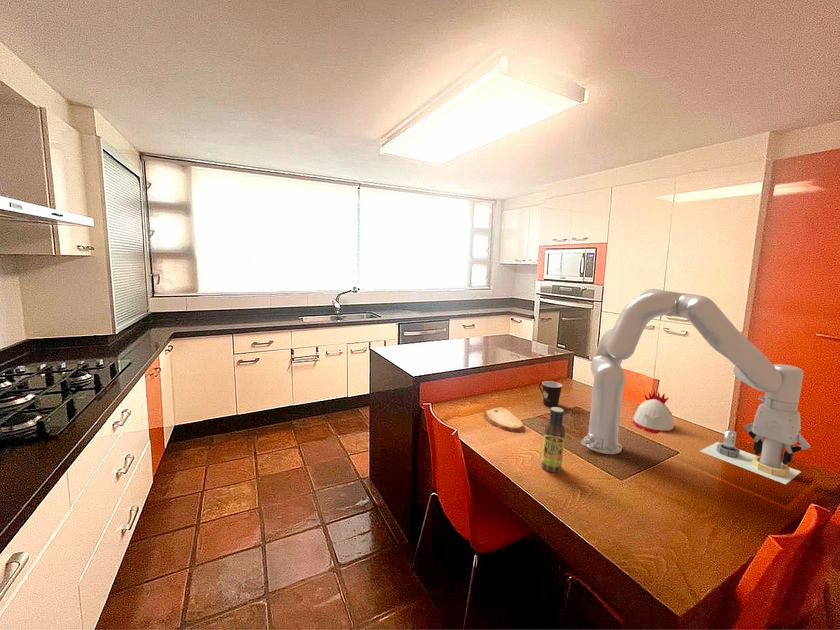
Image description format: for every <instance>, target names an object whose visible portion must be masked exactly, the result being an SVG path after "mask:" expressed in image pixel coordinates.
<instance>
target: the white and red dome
mask: <svg viewBox="0 0 840 630" xmlns="http://www.w3.org/2000/svg"><path fill="white" fill-rule="evenodd" d="M655 391H656V390H654V391H653V393H652V394H651V392H648V396H649V397H648V396H647V395H646V394H644V399H645V400H643V402H641V404H640V405H639V406H638V407H637V409H636V411H635V413H634V416H633V418H632V419H633V420H632V424H633V425H634V426H635V427H636V428H638V429H640V430H642V431H644V432H648V433H652V434H659V433H662V432H672V431H673V430H674V419H673V416H672V415H673V413H672V412H671V410H670V409H669V407H668V406H667V405H666V402H667V401H668V400H669V398H670V396H668V397H666V395H665V394H666V393H665V392H663V394H662V396H661V395H660V391H658V393H657V396H656V392H655ZM665 397H666V398H665Z"/></svg>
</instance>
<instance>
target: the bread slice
mask: <svg viewBox="0 0 840 630" xmlns="http://www.w3.org/2000/svg"><path fill="white" fill-rule="evenodd" d="M483 417H484V420H486V421H487V422H488V423H489V424H490V425H493V426H494V427H496V428H498V429H501V430H503V431H505V432H506V431H507V432H511V433H524V432H526V429H525V425H524V423H523V422H522V420H520V418H519V417H517V416H516V415H515V414H514V413H513V412H511V411H510V410H508V409H507V408H505V407H503V406H499V407H495V408H490V409H485V410H484V412H483Z"/></svg>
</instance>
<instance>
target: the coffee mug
mask: <svg viewBox="0 0 840 630" xmlns="http://www.w3.org/2000/svg"><path fill="white" fill-rule="evenodd" d="M541 386H542V388H541ZM562 387H563V384H561V383H559V382H557V381H556V382H555V381H552V380H551V381H550V380H548V381H542V382H540V383H539V384H538V389H539V390H540V392H541V394H542V399H543V400H542V403H543V406H545V407H549V408H552V407H558V406H559V402H560V397H561V392H562Z"/></svg>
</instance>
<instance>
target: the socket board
mask: <svg viewBox="0 0 840 630" xmlns="http://www.w3.org/2000/svg"><path fill="white" fill-rule="evenodd" d="M699 452H701V453H703V454H705V455H709V456H711V457H714V458H717V459H719V460H721V461H724V462H726V463H729V464H732V465H734V466H737V467H739V468H742V469H744V470H747V471H750V472H752V473H755V474H757V475H761V476H762V477H765V478H767V479H771V480H773V481H775V482H778V483H781V484H784V485H787V484H789V483H790V482H791V481H792V480H793V479H795V478H796V477H797V476H798V475H799V474H801V473H802V471H800V470H799V469H795V468H792V467H790V466H788V464H786V465H784V464H783V461H782V462H781V467H780V469H777V468H772V467H769V466H766V465H763V464H761V463H760V456H761V455H760V456H759V455H756V454H753V453H750V452H747V451H744V450H741V449H739V448H737V447H736V446H734V451H730V450H727V449H724V448H723V442H720V441H716V442H715V443H712V444H711V445H708V446H706V447H703V448H702V449H701V450H699Z"/></svg>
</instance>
